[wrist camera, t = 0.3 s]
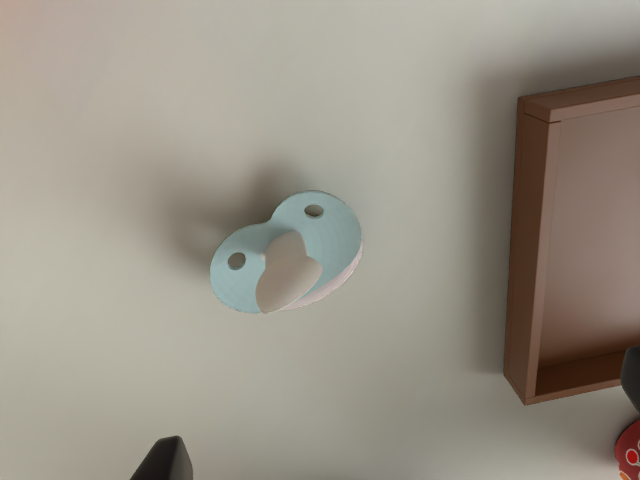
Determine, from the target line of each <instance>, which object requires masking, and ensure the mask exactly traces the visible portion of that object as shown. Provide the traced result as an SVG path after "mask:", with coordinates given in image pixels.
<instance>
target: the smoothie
mask: <svg viewBox="0 0 640 480" xmlns="http://www.w3.org/2000/svg"><path fill="white" fill-rule="evenodd" d="M614 450H615V457H616V459H617V461H618V462H619V473H620V476H621V477H622V478H623V480H640V420H638V421H636V422H635V423H633V424H632V425H631V426H630V427H629V428H627V429H626V430H625V431H624V432H623V434H622V435H621V436H620V438H619V439H618V441H617V443H616V446H615V449H614Z"/></svg>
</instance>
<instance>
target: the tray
mask: <svg viewBox="0 0 640 480" xmlns="http://www.w3.org/2000/svg"><path fill="white" fill-rule="evenodd" d="M637 345H640V76H636V77H630V78H624V79H619V80H613V81H608V82H602V83H597V84H591V85H585V86H580V87H574V88H569V89H563V90H558V91H552V92H546V93H541V94H535V95H530V96H524V97H519V98H518V112H517V131H516V150H515V169H514V187H513V206H512V225H511V244H510V263H509V282H508V300H507V319H506V338H505V357H504V376H505V378H506V379H507V381H508V382H509V383H510V385H511V386H512V388H513V389H514V391H515V392H516V394H517V395H518V397H519V398H520V400H521V401H522V403H523V404H524V405H525V406H526V405H530V404H535V403H540V402H544V401H549V400H554V399H558V398H563V397H568V396H572V395H577V394H582V393H586V392H591V391H596V390H600V389H605V388H610V387H614V386H619V385H621V382H620V374H621V370H622V365H623V361H624V356H625V352H626V350H627V349H628V348H629V347H631V346H637Z"/></svg>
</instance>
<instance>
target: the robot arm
mask: <svg viewBox="0 0 640 480" xmlns="http://www.w3.org/2000/svg"><path fill="white" fill-rule="evenodd" d="M620 382H621V385H622V387H623V389H624V391H625V393H626V394H627V396H628V397H629V399H630V400H631V402H632V404H633V405H634V407H635V408H636V410H637V411H638V413H639V414H640V345H637V346H631V347H629V348H628V349H627V350H626V352H625V356H624V361H623V365H622V370H621V374H620ZM130 480H193V469H192V464H191V461H190V458H189V455H188V453H187V450H186V448H185V445H184V442H183V440H182V438H181V437H180V436H172V437H167V438H162V439H159V440H158V441H157V442H156V443H155V444H154V446H153V447H152V448H151V450H150V451H149V453H148V454H147V456H146V457H145V459H144V460H143V461H142V463H141V464H140V466H139V467H138V469H137V470H136V472H135V473H134V474H133V476H132V477H131V479H130Z"/></svg>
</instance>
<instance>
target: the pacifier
mask: <svg viewBox="0 0 640 480" xmlns="http://www.w3.org/2000/svg"><path fill="white" fill-rule="evenodd" d="M311 204H316V205H319V206H321V207H322V208H323V212H322V213H321V215H319V216H316V217H313V216H311V215H308V214H306V213H305V212H304V210H305V208H306V207H307V206H308V205H311ZM362 246H363V241H362V238H361V229H360V225H359V222H358V219H357V218H356V216H355V214H354V213H353V211H352V210H351V208H350V207H349V206H348V205H347V204H346V203H345V202H343V201H342V200H341V199H339V198H338V197H336V196H334V195H332V194H330V193H326V192H323V191H316V190H308V191H301V192H297V193H295V194H293V195H291V196H289V197H287V198H286V199H285V200H283V201H282V202H281V203H280V204H279V206H278V207H277V208H276V209H275V211H274V213H273V215H272V217H271V219H269V220H268V221H267V222H265V223H259V224H252V225H248V226H245V227H242V228H240V229H238V230H236V231H234V232H233V233H232V234H230V235H229V236H228V237H226V238H225V240H224V241H223V242H222V243H221V244H220V246H219V247H218V249H217V250H216V252H215V254H214V257H213V260H212V263H211V267H210V283H211V286H212V289H213V292H214V293H215V295H216V296H217V298H218V299H219V300H220V301H221V302H222V303H223V304H225V305H226V306H228V307H230V308H232V309H235V310H237V311H243V312H246V313H260V312H262V313H266V314H267V313H272V312H276V311H278V310H287V309H294V308H299V307H302V306H305V305H308V304H311V303H314V302H315V301H317V300H319V299H321V298H323V297H325V296H327V295H328V294H330V293H331V292H333V291H334V290H335V289H337V288H338V287H339V286H340V285H341V284H342V283H343V282H344V281H345V280H346V279H347V278H348V277H349V276H350V275H351V274H352V272H353V271H354V269H355V268H356V266H357V265H358V262H359V260H360V257H361V254H362ZM238 252H240V253H243V254H244V255H245V257H246V260H245V262H244V263H243V264H242V265H241V266H239V267H231V266H230V265H229V264H228V259H229V257H230V256H231V255H232V254H234V253H238Z"/></svg>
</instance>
